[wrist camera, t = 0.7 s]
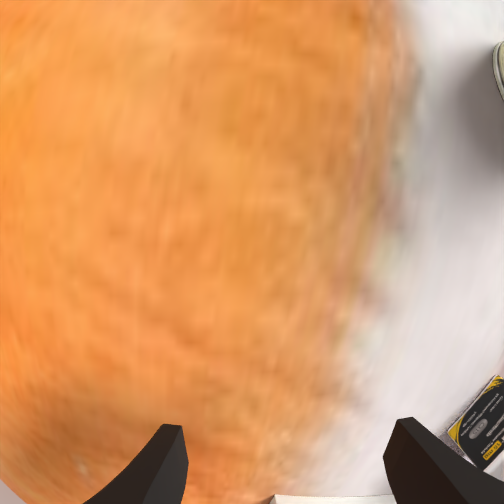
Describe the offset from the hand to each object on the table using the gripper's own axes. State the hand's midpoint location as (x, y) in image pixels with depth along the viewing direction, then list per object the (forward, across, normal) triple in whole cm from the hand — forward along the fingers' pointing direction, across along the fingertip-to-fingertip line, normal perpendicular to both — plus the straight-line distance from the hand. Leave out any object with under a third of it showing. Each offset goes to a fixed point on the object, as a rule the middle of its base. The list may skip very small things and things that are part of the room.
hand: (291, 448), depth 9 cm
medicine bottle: (+11, -21, +12) cm, 27 cm away
